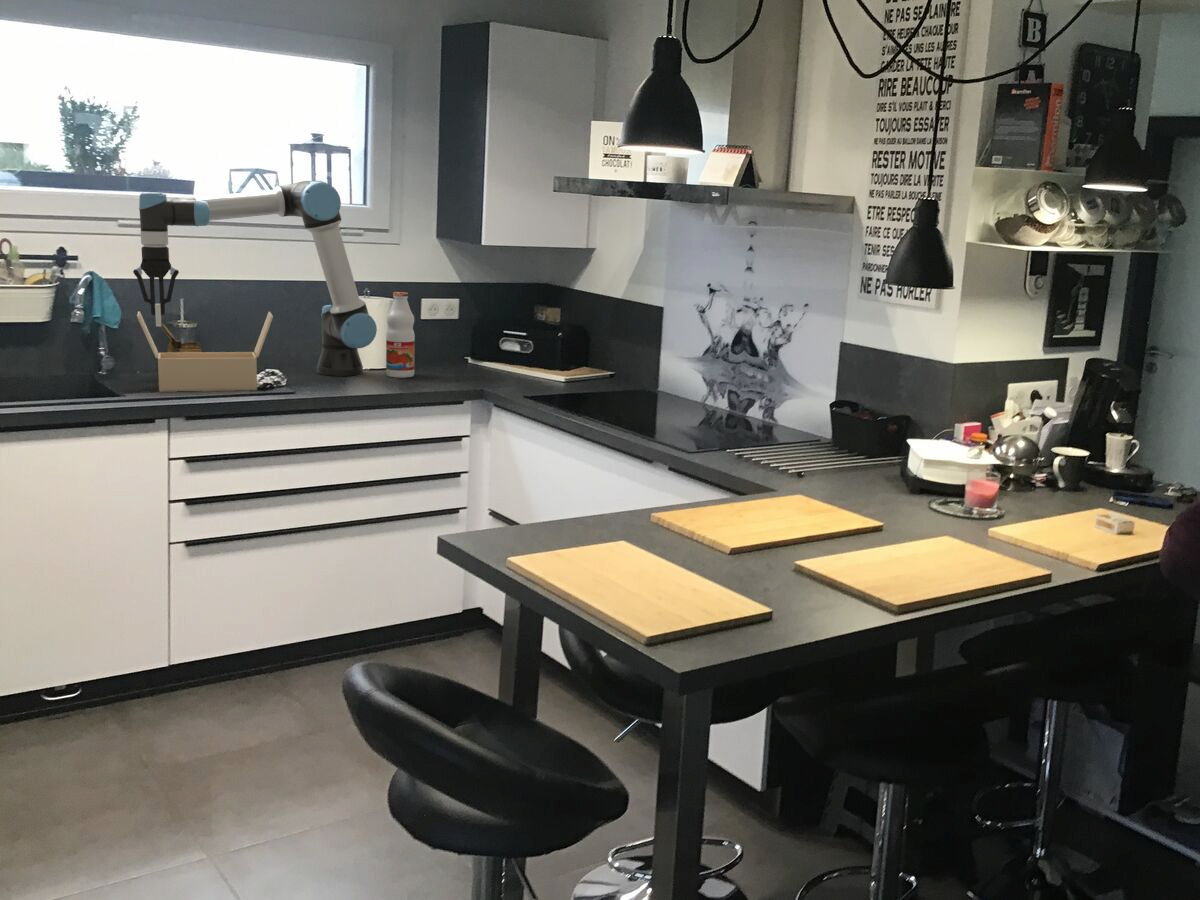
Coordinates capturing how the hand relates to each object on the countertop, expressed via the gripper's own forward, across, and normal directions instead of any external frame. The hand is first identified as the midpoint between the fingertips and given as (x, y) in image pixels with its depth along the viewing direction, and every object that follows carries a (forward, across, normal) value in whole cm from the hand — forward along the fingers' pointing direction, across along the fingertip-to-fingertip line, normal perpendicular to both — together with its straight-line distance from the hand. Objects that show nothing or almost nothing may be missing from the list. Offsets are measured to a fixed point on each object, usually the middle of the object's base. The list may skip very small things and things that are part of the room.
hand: (158, 325), depth 352 cm
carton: (+19, -13, 0) cm, 23 cm away
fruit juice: (+20, -75, -18) cm, 80 cm away
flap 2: (+3, -30, 0) cm, 30 cm away
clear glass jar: (+19, -6, -19) cm, 28 cm away
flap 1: (+2, +3, 0) cm, 4 cm away
